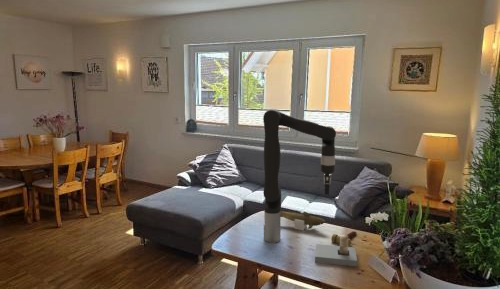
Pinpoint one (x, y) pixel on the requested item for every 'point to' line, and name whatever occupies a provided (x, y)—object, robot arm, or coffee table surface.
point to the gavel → (336, 238)
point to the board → (335, 255)
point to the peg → (343, 245)
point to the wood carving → (302, 219)
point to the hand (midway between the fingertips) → (326, 192)
